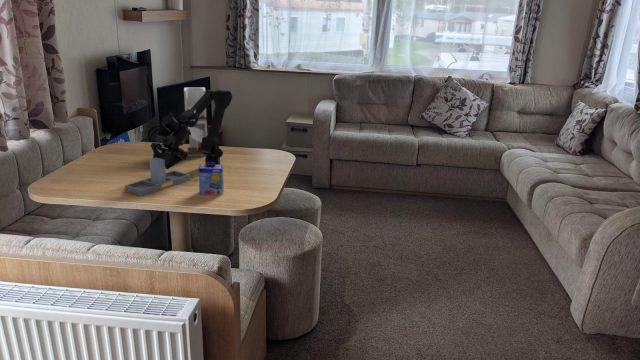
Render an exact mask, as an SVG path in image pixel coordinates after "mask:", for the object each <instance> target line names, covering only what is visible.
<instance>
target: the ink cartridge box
mask: <svg viewBox="0 0 640 360" xmlns="http://www.w3.org/2000/svg"><path fill="white" fill-rule="evenodd" d="M209 163H211V164H209ZM198 183H199V184H198V187H199V188H198V189H199V196H200V195H201V196H223V194H224V192H225V188H224V187H225V186H224V185H225V183H224V165H223V164H220V165H215V163H214V162H206V165H205V164H200V165H199V167H198Z"/></svg>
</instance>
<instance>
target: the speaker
mask: <svg viewBox="0 0 640 360" xmlns="http://www.w3.org/2000/svg"><path fill="white" fill-rule="evenodd" d="M162 146H163V145H162ZM163 147H164V146H163ZM161 159H164V160H165V167H166V166H167V164H168V162H169V160H170V159H171V153H168V152H165V153H164V154H163V156H162V158H161Z"/></svg>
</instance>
